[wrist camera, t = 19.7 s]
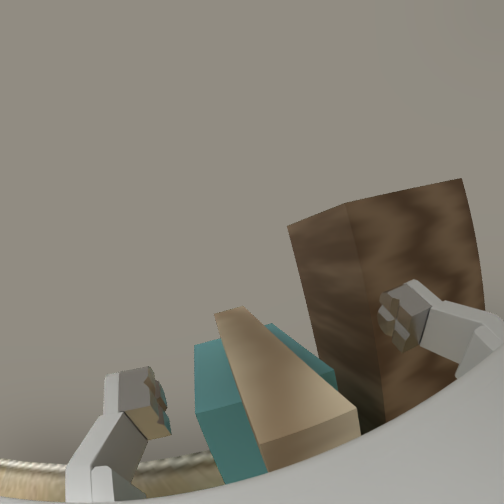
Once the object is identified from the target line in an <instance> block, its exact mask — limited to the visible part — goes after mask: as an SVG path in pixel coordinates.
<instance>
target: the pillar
mask: <svg viewBox="0 0 504 504" xmlns="http://www.w3.org/2000/svg"><path fill="white" fill-rule="evenodd" d="M287 228H288V232H289V235H290V240H291V243H292V247H293V251H294V255H295V259H296V263H297V267H298V271H299V275H300V279H301V283H302V287H303V291H304V295H305V299H306V304H307V308H308V312H309V316H310V320H311V325H312V329H313V333H314V338H315V342H316V346H317V351H318V355H319V359H320V360H322V361H323V362H324V363H326V364H327V365H328V366H330V367H331V368H332V369H334V372H335V377H336V382H337V387H338V392H339V393H340V394H341V395H342V396H344V397H345V398H346V399H347V400H348V401H349V402H351V403H352V404H353V405H354V406H355V407H356V408H357V412H358V419H359V425H360V432H361V435H364V434H366V433H368V432H370V431H372V430H374V429H376V428H377V427H379V426H381V425H383V424H385V423H387V422H389V421H391V420H393V419H394V418H396V417H398V416H400V415H402V414H403V413H405V412H407V411H408V410H410V409H412V408H414V407H415V406H417V405H419V404H420V403H422V402H423V401H425V400H427V399H428V398H430V397H431V396H433V395H435V394H436V393H438V392H439V391H441V390H442V389H444V388H445V387H447V386H448V385H450V384H451V383H452V382H454V381H455V380H457V378H456V377H455V372H456V370H457V368H458V366H459V364H458V363H456V362H454V361H452V360H449V359H447V358H445V357H443V356H441V355H438V354H436V353H434V352H432V351H430V350H427V349H425V348H423V347H421V346H420V345H418V346H416V347H414V348H412V349H410V350H408V351H406V352H404V353H401V352H400V351H399V349H398V348H397V347H396V346H395V345H394V344H393V343H392V337H391V336H389V335H386V334H384V332H383V331H382V330H381V328H380V326H379V324H378V320H377V315H378V310H379V309H380V307H381V306H382V304H381V303H380V302H379V300H380V295H381V294H382V292H385V291H387V290H390V289H392V288H394V287H397V286H399V285H401V284H404V283H406V282H409V281H411V280H413V279H415V280H418V281H419V282H420V283H421V284H423V285H424V286H425V287H426V288H427V289H429V290H430V291H431V292H432V293H433V294H434V295H436V296H437V297H438V298H439V299H440V300H441V301H445V300H446V301H450V302H453V303H457V304H461V305H464V306H468V307H472V308H475V309H479V310H483V311H485V303H484V294H483V293H484V292H483V283H482V275H481V267H480V261H479V254H478V248H477V243H476V237H475V232H474V227H473V222H472V218H471V213H470V209H469V205H468V200H467V197H466V193H465V189H464V185H463V182H462V179H461V178H460V179H455V180H450V181H445V182H440V183H435V184H431V185H426V186H420V187H416V188H411V189H407V190H402V191H397V192H392V193H388V194H383V195H378V196H374V197H370V198H365V199H360V200H356V201H352V202H347V203H344V204H341V205H339V206H336V207H334V208H331V209H329V210H326V211H323V212H321V213H318V214H316V215H314V216H311V217H308V218H306V219H303V220H301V221H298V222H296V223H294V224H291V225H289V226H287Z"/></svg>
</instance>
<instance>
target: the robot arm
mask: <svg viewBox="0 0 504 504" xmlns="http://www.w3.org/2000/svg"><path fill="white" fill-rule="evenodd" d="M379 302H380V303H381V304H382V306H381V307H380V309H379V310H378V315H377V320H378V324H379V326H380V328H381V330H382V331H383V332H384V334H386V335H389V336H391V337H392V343H393V344H394V345H395V346H396V347H397V348H398V349H399V351H400V352H401V353H404V352H406V351H408V350H410V349H412V348H414V347H416V346H418V345H420V346H421V347H423V348H425V349H427V350H430V351H432V352H434V353H436V354H438V355H441V356H443V357H445V358H447V359H449V360H452V361H454V362H456V363H458V364H459V366H458V368H457V370H456V372H455V377H456V378H457V380H455V381H454V382H452V383H451V384H450V385H448V386H447V387H445V388H444V389H442V390H441V391H439V392H438V393H436V394H435V395H433V396H431V397H430V398H428V399H427V400H425V401H423V402H422V403H420V404H419V405H417V406H415V407H414V408H412V409H410V410H408V411H407V412H405V413H403V414H402V415H400V416H398V417H396V418H394V419H393V420H391V421H389V422H387V423H385V424H383V425H381V426H379V427H377V428H376V429H374V430H372V431H370V432H368V433H366V434H364V435H361V436H359V437H357V438H355V439H353V440H351V441H349V442H347V443H344V444H342V445H340V446H338V447H335V448H333V449H331V450H328V451H326V452H323V453H321V454H319V455H316V456H314V457H311V458H308V459H306V460H303V461H300V462H298V463H295V464H292V465H289V466H287V467H284V468H281V469H278V470H275V471H272V472H268V473H265V474H262V475H259V476H255V477H252V478H248V479H245V480H241V481H237V482H233V483H230V484H226V485H221V486H217V487H213V488H208V489H203V490H198V491H193V492H188V493H182V494H176V495H170V496H163V497H156V498H148V499H146V494H144V493H143V492H142V491H140V490H139V489H138V488H136V487H135V486H133V485H132V484H131V481H132V479H133V476H134V474H135V472H136V469H137V467H138V464H139V462H140V460H141V457H142V455H143V453H144V450H145V448H146V445H147V443H148V441H147V440H152V439H156V438H161V437H166V436H170V435H172V434H171V428H170V423H169V418H168V416H167V415H166V413H165V411H166V409H167V402H166V398H165V395H164V391H163V389H162V386H161V385H160V383H159V382H158V381H156V380H155V376H154V372H153V370H152V369H151V367H149V366H148V367H143V368H138V369H133V370H128V371H122V372H118V373H113V374H107V375H106V377H105V382H104V383H105V384H104V409H103V415H101V416H99V417H98V419H97V420H96V422H95V423H94V425H93V426H92V428H91V429H90V431H89V432H88V434H87V436H86V437H85V438H84V440H83V441H82V443H81V445H80V446H79V447H78V449H77V451H76V452H75V454H74V455H73V457H72V458H71V460H70V462H69V463H68V464H67V466H66V482H65V489H66V502H49V501H35V500H25V499H16V498H9V497H2V496H0V504H504V321H503V320H502V319H501V318H500V317H498V316H497V315H496V314H493V313H490V312H486V311H483V310H479V309H475V308H472V307H468V306H464V305H461V304H457V303H453V302H450V301H446V300H445V301H441V300H440V299H439V298H438V297H437V296H436V295H434V294H433V293H432V292H431V291H430V290H429V289H427V288H426V287H425V286H424V285H423V284H421V283H420V282H419V281H418V280H415V279H413V280H411V281H409V282H406V283H404V284H401V285H399V286H397V287H394V288H392V289H390V290H387V291H385V292H382V294H381V295H380V300H379Z"/></svg>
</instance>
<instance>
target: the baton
mask: <svg viewBox="0 0 504 504" xmlns="http://www.w3.org/2000/svg"><path fill="white" fill-rule="evenodd" d="M214 316H215V319H216V323H217V327H218V330H219V333H220V337H221V340H222V344H223V347H224V350H225V353H226V356H227V359H228V362H229V365H230V368H231V371H232V374H233V377H234V380H235V383H236V386H237V389H238V392H239V395H240V398H241V400H242V403H243V406H244V409H245V412H246V415H247V417H248V420H249V423H250V426H251V429H252V431H253V434H254V437H255V439H256V442H257V445H258V448H259V450H260V453H261V455H262V458H263V461H264V463H265V466H266V468H267V471H268V472H272V471H275V470H278V469H281V468H284V467H287V466H289V465H292V464H295V463H298V462H300V461H303V460H306V459H308V458H311V457H314V456H316V455H319V454H321V453H323V452H326V451H328V450H331V449H333V448H335V447H338V446H340V445H342V444H344V443H347V442H349V441H351V440H353V439H355V438H357V437H359V436H361V432H360V425H359V419H358V412H357V408H356V407H355V406H354V405H353V404H352V403H351V402H349V401H348V400H347V399H346V398H345V397H344V396H342V395H341V394H340V393H339V392H338V391H337V390H335V389H334V388H333V387H332V386H331V385H330V384H329V383H327V382H326V381H325V380H324V379H323V378H322V377H321V376H319V375H318V374H317V373H316V372H315V371H314V370H313V369H311V368H310V367H309V366H308V365H307V364H306V363H305V362H304V361H302V360H301V359H300V358H299V357H298V356H297V355H296V354H295V353H294V352H292V351H291V350H290V349H289V348H288V347H287V346H286V345H285V344H284V343H283V342H281V341H280V340H279V339H278V338H277V337H276V336H275V335H274V334H273V333H272V332H271V331H269V330H268V329H267V328H266V327H265V326H264V325H263V324H262V323H261V322H260V321H259V320H258V319H256V318H255V317H254V316H253V315H252V314H251V313H250V312H249V311H248V310H247V309H246V308H245V307H244V306H241V307H237V308H234V309H230V310H226V311H223V312H219V313H216V314H214Z"/></svg>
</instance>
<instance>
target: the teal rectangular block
mask: <svg viewBox="0 0 504 504" xmlns="http://www.w3.org/2000/svg"><path fill="white" fill-rule="evenodd" d="M264 326H265V327H266V328H267V329H268V330H269V331H271V332H272V333H273V334H274V335H275V336H276V337H277V338H278V339H279V340H280V341H281V342H283V343H284V344H285V345H286V346H287V347H288V348H289V349H290V350H291V351H292V352H294V353H295V354H296V355H297V356H298V357H299V358H300V359H301V360H302V361H304V362H305V363H306V364H307V365H308V366H309V367H310V368H311V369H313V370H314V371H315V372H316V373H317V374H318V375H319V376H321V377H322V378H323V379H324V380H325V381H326V382H327V383H329V384H330V385H331V386H332V387H333V388H334V389H335V390H337V391H338V387H337V382H336V377H335V372H334V369H332V368H331V367H330V366H328V365H327V364H326V363H324V362H323V361H322V360H320V359H319V358H317V357H316V356H314V355H313V354H312V353H311V352H309V351H308V350H307V349H305V348H304V347H302V346H301V345H300V344H299V343H297V342H296V341H295V340H293V339H292V338H291V337H289V336H288V335H287V334H285V333H284V332H283V331H281V330H280V329H279V328H277V327H276V326H275V325H273V324H272V323H271V324H268V325H264ZM194 366H195V367H194V372H195V373H194V374H195V375H194V376H195V414H196V417H197V419H198V422H199V425H200V427H201V429H202V432H203V434H204V437H205V439H206V442H207V444H208V446H209V449H210V451H211V453H212V456H213V458H214V460H215V463H216V465H217V467H218V469H219V472H220V474H221V476H222V478H223V480H224V482H225V485H226V484H230V483H233V482H237V481H241V480H245V479H248V478H252V477H255V476H259V475H262V474H265V473H268V471H267V468H266V466H265V463H264V461H263V458H262V455H261V453H260V450H259V448H258V445H257V442H256V439H255V437H254V434H253V431H252V429H251V426H250V423H249V420H248V417H247V415H246V412H245V409H244V406H243V403H242V400H241V398H240V395H239V392H238V389H237V386H236V383H235V380H234V377H233V374H232V371H231V368H230V365H229V362H228V359H227V356H226V353H225V350H224V347H223V344H222V340H221V338H220V339H217V340H212V341H209V342H205V343H202V344H197V345H195V346H194Z"/></svg>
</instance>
